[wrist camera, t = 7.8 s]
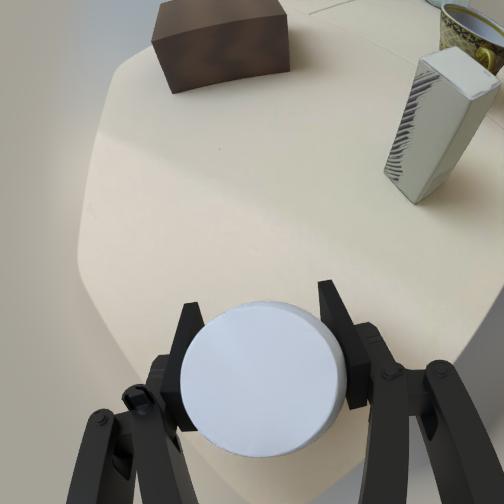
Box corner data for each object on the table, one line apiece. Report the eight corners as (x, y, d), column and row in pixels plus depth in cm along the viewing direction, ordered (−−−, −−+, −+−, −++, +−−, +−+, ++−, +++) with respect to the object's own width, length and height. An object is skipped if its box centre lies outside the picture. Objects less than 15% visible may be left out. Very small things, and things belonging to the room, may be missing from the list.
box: (415, 150, 27) (456, 43, 15) (446, 182, 25) (505, 81, 13) (379, 173, 26) (416, 54, 14) (412, 209, 24) (473, 99, 12)
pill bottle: (233, 431, 18) (170, 492, 7) (215, 337, 21) (138, 296, 10) (333, 413, 18) (385, 459, 7) (313, 318, 20) (340, 255, 10)
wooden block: (172, 94, 33) (150, 41, 26) (175, 47, 38) (160, 3, 30) (290, 71, 32) (286, 14, 25) (271, 28, 37) (266, -18, 30)
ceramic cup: (422, 51, 33) (436, -5, 23) (483, 74, 31) (503, 23, 21) (429, 105, 29) (453, 36, 19) (500, 133, 26) (534, 75, 17)
